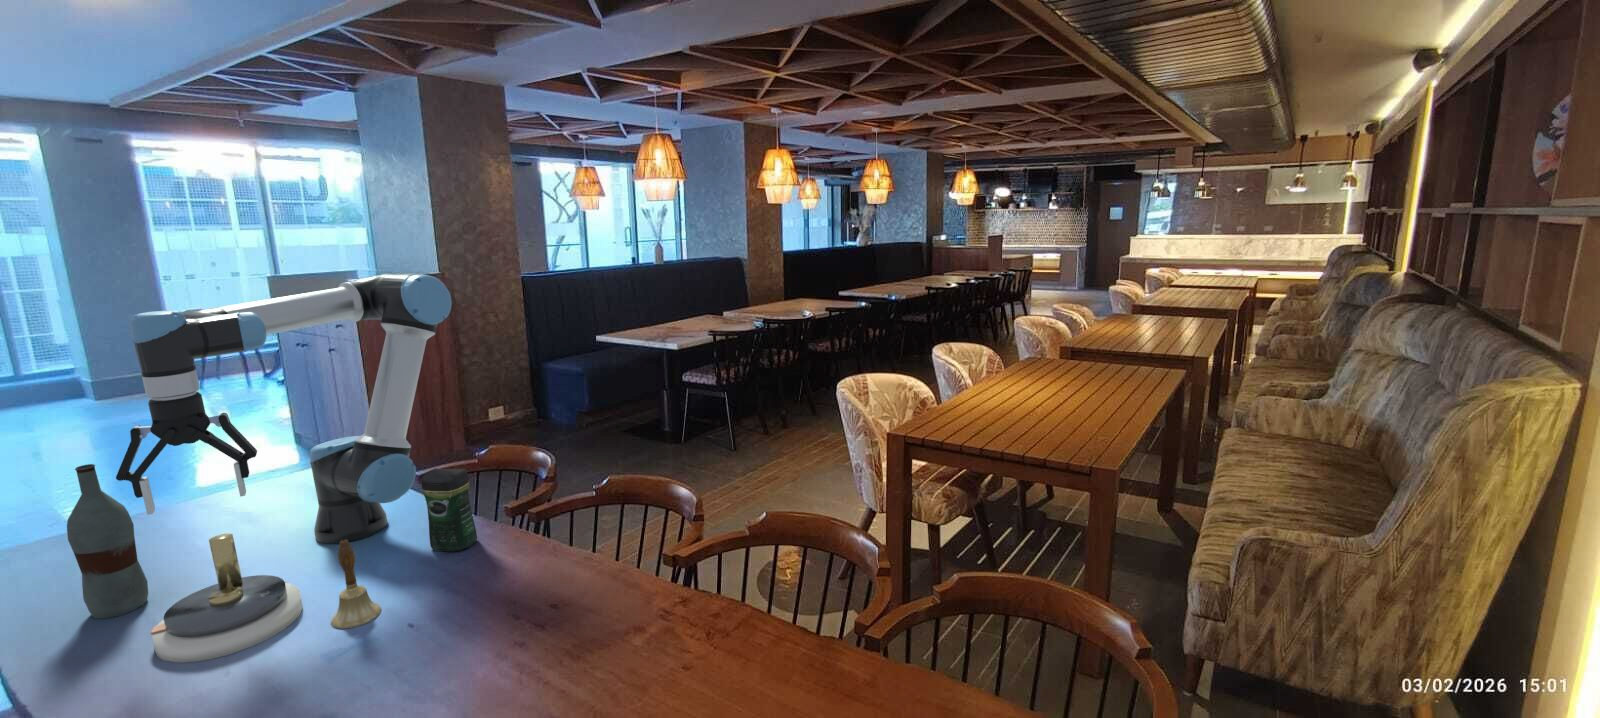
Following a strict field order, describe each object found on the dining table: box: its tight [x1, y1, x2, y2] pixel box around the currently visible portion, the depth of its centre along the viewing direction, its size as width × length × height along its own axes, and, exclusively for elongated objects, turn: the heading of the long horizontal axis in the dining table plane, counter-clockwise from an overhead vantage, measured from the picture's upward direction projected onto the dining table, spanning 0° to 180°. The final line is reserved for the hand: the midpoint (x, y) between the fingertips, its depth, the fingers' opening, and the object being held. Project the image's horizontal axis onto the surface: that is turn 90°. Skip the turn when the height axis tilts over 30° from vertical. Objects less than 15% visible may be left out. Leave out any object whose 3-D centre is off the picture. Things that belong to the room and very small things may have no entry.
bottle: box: [66, 463, 149, 620], centre depth 140 cm, size 9×9×30 cm
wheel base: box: [150, 582, 303, 664], centre depth 135 cm, size 22×22×4 cm
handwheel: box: [163, 532, 287, 637], centre depth 133 cm, size 18×18×12 cm
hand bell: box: [330, 539, 382, 630], centre depth 136 cm, size 8×8×16 cm
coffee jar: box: [421, 468, 478, 552], centre depth 164 cm, size 10×8×19 cm
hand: (198, 502), depth 135 cm, fingers open, 13 cm apart
